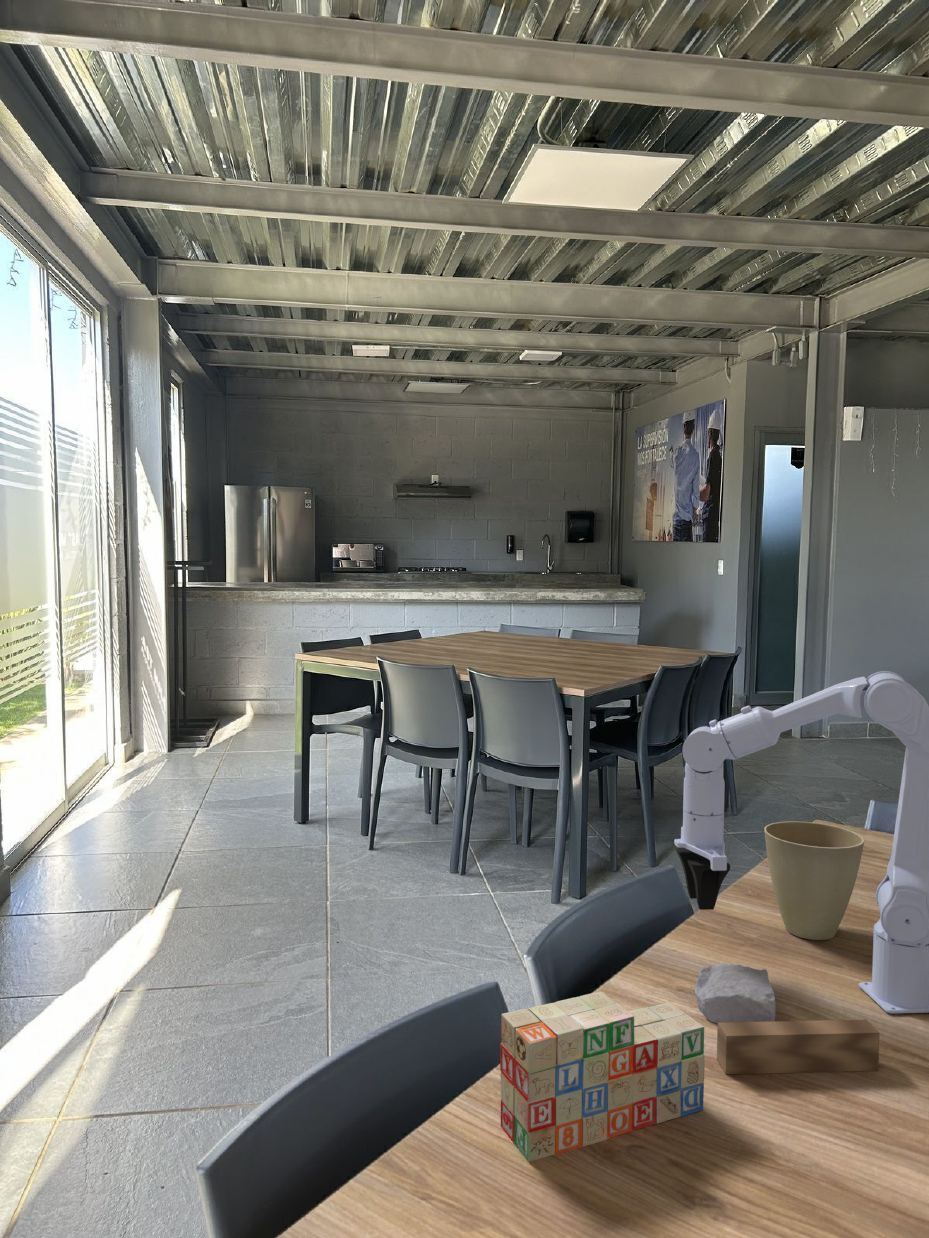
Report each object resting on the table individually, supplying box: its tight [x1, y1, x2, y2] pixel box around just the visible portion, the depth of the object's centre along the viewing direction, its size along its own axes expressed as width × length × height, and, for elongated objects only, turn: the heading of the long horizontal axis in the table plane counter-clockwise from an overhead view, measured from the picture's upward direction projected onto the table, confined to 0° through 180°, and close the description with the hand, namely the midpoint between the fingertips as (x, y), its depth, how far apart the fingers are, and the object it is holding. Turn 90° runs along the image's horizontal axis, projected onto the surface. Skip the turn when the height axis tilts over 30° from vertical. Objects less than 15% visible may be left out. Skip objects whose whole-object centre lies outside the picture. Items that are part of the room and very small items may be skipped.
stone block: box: [694, 963, 777, 1024], centre depth 118 cm, size 12×5×10 cm
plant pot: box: [763, 820, 865, 941], centre depth 142 cm, size 15×15×16 cm
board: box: [716, 1019, 881, 1075], centre depth 103 cm, size 18×3×4 cm, turn 93°
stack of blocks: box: [499, 991, 706, 1163], centre depth 93 cm, size 21×6×12 cm, turn 114°
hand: (701, 903), depth 128 cm, fingers open, 4 cm apart
